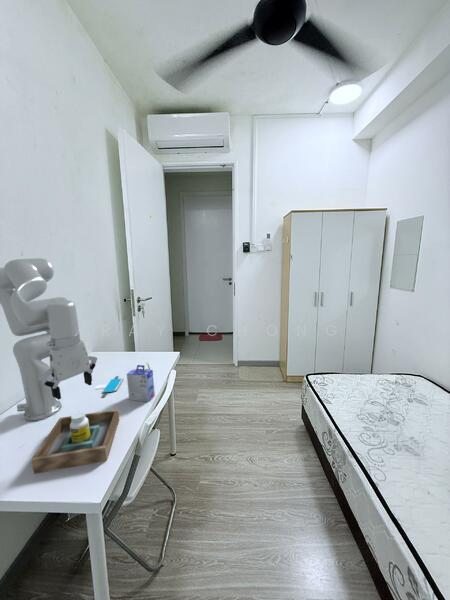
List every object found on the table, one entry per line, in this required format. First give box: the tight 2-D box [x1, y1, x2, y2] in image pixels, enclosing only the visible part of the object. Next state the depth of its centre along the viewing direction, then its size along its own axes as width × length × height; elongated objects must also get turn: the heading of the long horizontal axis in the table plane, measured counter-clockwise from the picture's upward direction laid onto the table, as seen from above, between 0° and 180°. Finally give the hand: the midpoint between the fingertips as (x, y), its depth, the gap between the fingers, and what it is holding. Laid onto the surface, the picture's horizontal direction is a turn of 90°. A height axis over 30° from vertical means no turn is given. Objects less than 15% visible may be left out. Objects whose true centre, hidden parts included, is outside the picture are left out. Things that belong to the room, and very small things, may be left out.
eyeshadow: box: [144, 361, 151, 370], centre depth 138 cm, size 4×5×5 cm
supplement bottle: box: [70, 411, 91, 444], centre depth 86 cm, size 5×5×10 cm
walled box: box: [31, 409, 120, 475], centre depth 86 cm, size 20×20×4 cm
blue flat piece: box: [94, 376, 125, 399], centre depth 124 cm, size 20×12×2 cm, turn 5°
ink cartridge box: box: [126, 364, 156, 402], centre depth 112 cm, size 10×6×14 cm, turn 78°
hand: (73, 390), depth 83 cm, fingers open, 9 cm apart
